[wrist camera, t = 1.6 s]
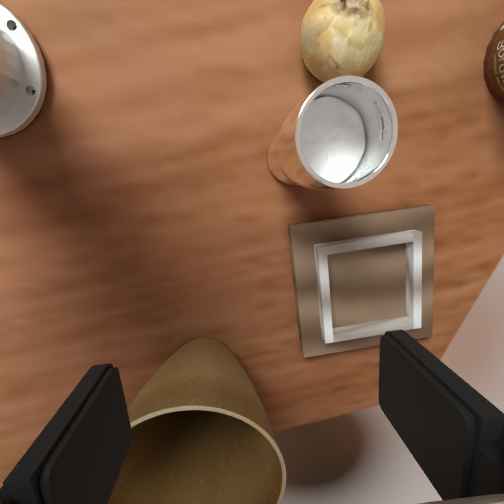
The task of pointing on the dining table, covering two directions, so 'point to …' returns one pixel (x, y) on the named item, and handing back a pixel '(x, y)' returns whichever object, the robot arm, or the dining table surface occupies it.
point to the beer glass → (336, 136)
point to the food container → (495, 64)
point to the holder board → (363, 278)
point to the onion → (342, 37)
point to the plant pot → (200, 435)
